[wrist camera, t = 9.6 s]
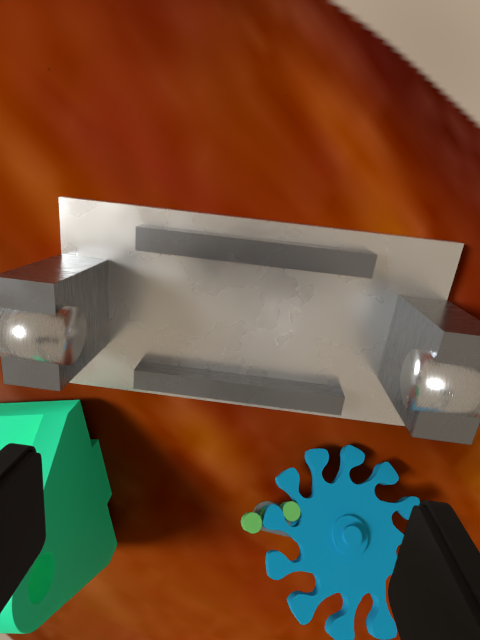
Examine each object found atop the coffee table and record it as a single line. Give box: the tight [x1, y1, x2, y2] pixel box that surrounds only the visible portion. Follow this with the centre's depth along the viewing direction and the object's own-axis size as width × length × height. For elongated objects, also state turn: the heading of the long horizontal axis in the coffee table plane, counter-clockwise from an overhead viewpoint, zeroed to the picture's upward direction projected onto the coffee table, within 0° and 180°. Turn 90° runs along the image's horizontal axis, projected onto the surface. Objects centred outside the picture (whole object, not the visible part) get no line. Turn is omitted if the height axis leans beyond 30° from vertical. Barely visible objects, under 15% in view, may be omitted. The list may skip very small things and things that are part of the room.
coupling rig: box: [0, 197, 480, 445], centre depth 19 cm, size 11×21×7 cm, turn 84°
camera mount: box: [0, 400, 117, 634], centre depth 22 cm, size 12×8×10 cm, turn 5°
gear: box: [241, 445, 420, 640], centre depth 24 cm, size 11×6×10 cm
